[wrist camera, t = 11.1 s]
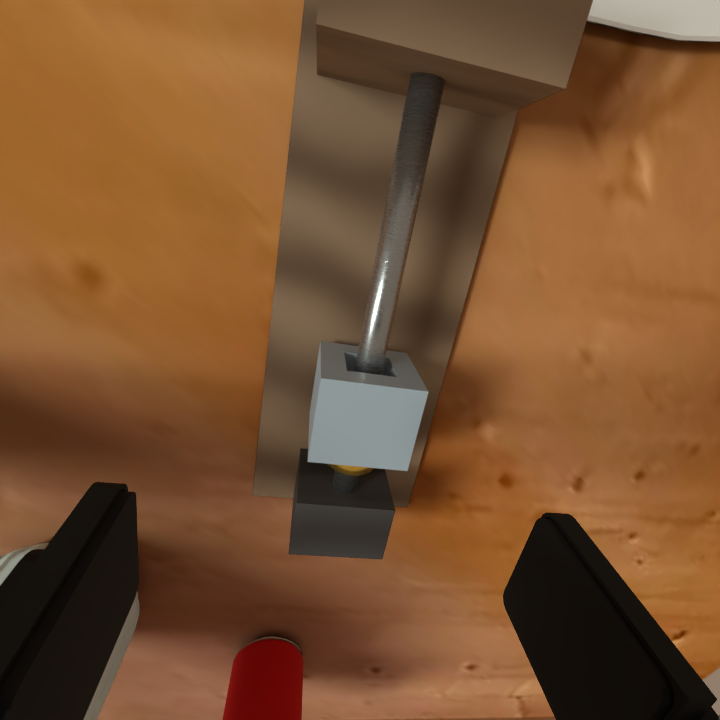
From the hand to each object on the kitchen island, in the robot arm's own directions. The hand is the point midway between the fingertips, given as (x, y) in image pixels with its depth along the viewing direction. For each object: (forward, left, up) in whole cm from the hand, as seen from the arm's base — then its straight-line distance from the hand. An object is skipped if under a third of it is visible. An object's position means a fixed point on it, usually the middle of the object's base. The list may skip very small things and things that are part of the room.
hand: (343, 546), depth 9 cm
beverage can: (+32, -1, -18) cm, 37 cm away
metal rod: (-1, +2, -16) cm, 16 cm away
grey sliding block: (+3, +2, -17) cm, 17 cm away
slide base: (-2, +2, -18) cm, 18 cm away
